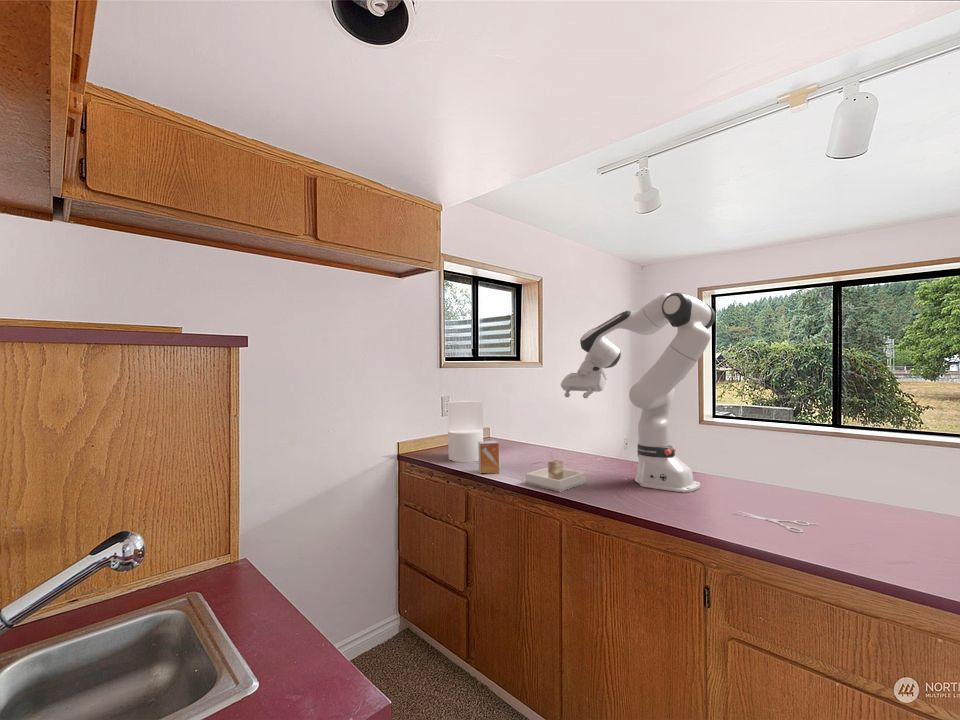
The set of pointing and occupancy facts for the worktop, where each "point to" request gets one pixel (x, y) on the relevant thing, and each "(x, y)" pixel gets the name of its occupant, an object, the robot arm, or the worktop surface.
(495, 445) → the small box
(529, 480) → the bin
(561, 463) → the beech block
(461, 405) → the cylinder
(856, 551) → the worktop surface
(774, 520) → the scissors
